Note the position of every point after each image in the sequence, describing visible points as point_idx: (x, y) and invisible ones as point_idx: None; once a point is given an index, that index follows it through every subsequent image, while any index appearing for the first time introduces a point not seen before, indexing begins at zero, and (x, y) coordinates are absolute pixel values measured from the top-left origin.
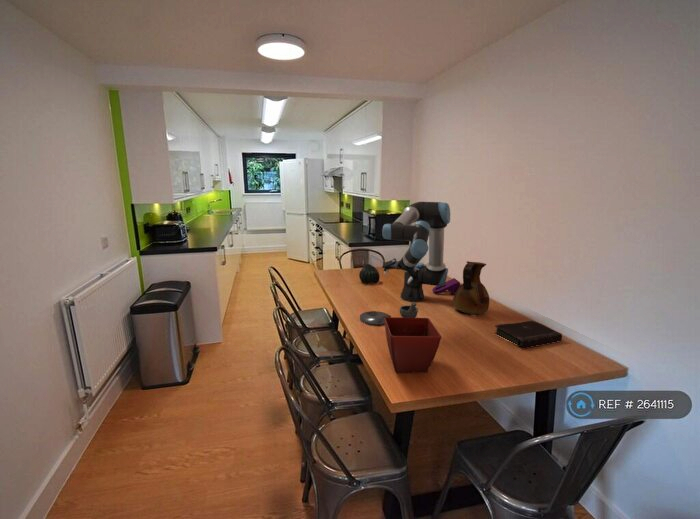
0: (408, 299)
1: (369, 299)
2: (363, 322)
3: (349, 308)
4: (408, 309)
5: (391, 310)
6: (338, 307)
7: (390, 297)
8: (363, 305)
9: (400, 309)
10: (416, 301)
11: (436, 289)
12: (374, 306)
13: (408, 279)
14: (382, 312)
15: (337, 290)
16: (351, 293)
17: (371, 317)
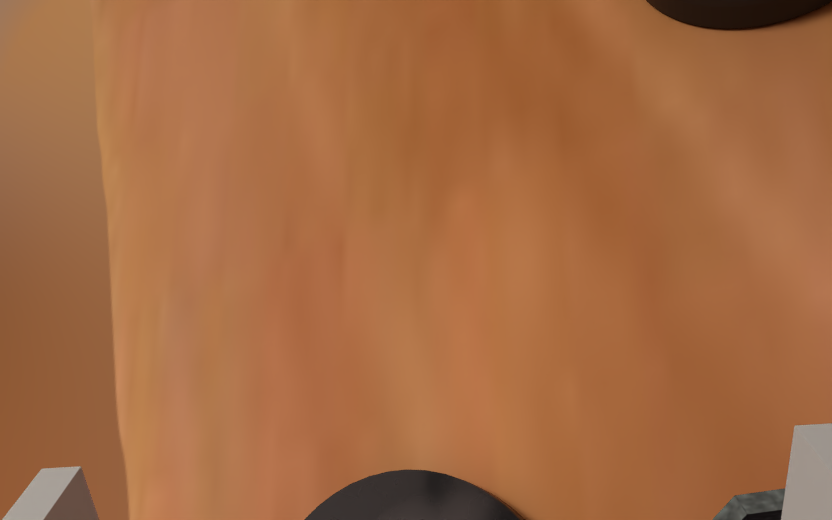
0: (723, 15)
1: (358, 129)
2: None
3: (198, 390)
4: None
5: (567, 335)
6: (123, 390)
7: (534, 11)
8: (308, 283)
9: None
10: (820, 6)
11: None
12: (399, 277)
13: (802, 455)
14: (470, 491)
15: (150, 51)
16: (233, 64)
17: None
